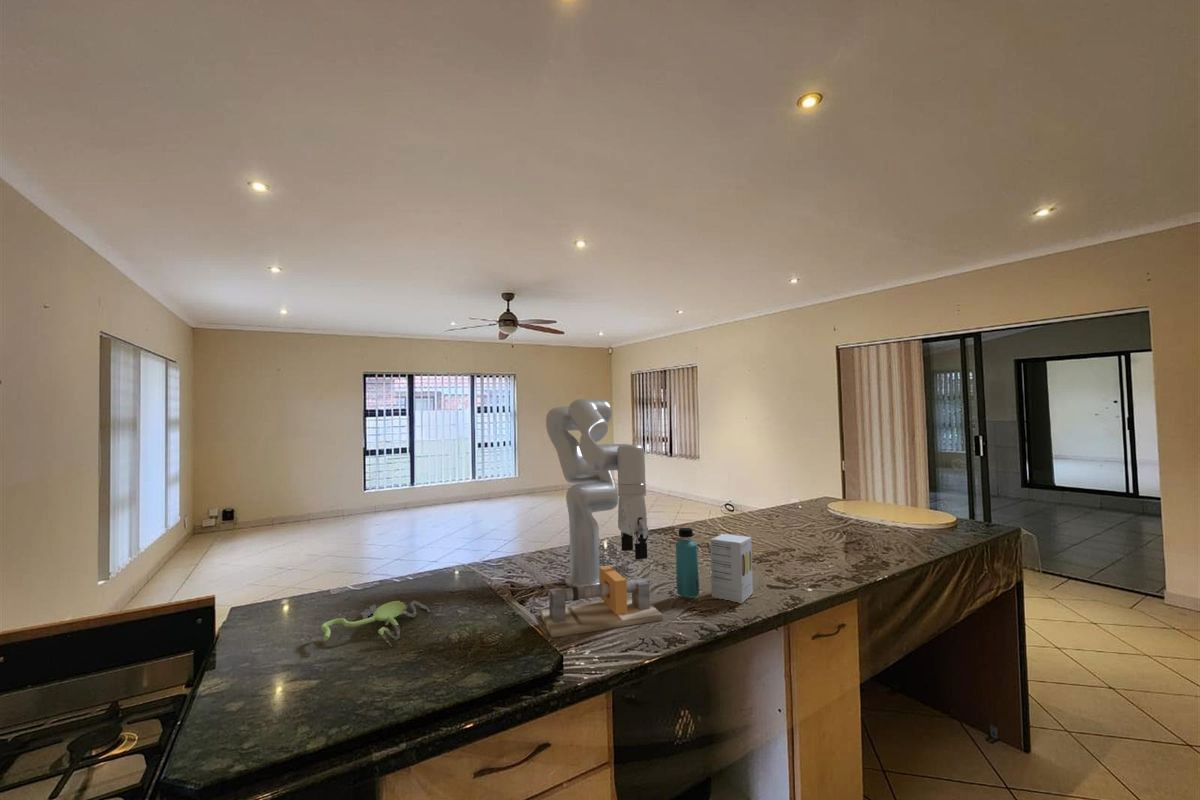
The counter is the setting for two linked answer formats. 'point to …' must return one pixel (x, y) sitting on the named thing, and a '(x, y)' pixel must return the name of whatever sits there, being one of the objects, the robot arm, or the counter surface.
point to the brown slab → (614, 589)
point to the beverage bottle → (687, 565)
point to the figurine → (381, 614)
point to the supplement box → (731, 567)
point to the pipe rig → (596, 609)
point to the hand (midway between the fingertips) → (634, 554)
